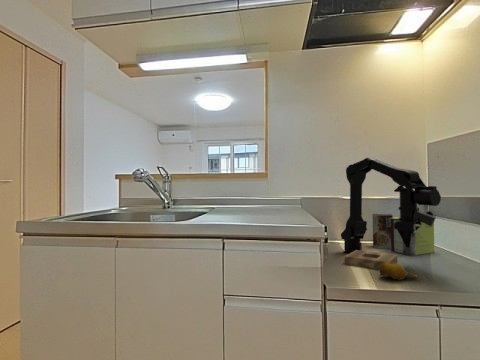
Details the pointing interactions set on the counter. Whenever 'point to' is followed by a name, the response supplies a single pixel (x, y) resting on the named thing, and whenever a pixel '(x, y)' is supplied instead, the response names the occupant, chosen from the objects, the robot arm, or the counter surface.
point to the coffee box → (382, 230)
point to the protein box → (422, 238)
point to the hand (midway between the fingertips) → (409, 246)
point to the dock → (368, 259)
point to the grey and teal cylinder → (412, 249)
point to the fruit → (394, 271)
